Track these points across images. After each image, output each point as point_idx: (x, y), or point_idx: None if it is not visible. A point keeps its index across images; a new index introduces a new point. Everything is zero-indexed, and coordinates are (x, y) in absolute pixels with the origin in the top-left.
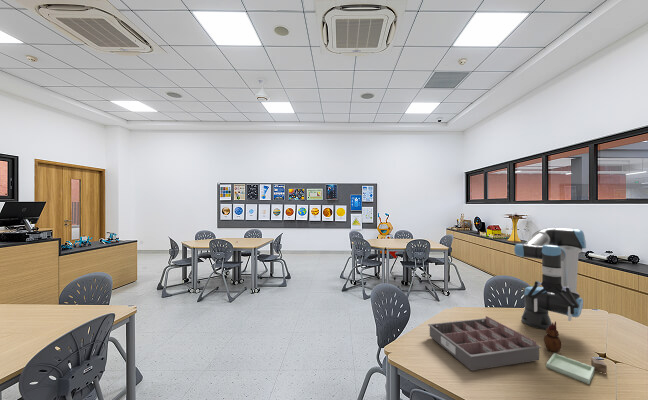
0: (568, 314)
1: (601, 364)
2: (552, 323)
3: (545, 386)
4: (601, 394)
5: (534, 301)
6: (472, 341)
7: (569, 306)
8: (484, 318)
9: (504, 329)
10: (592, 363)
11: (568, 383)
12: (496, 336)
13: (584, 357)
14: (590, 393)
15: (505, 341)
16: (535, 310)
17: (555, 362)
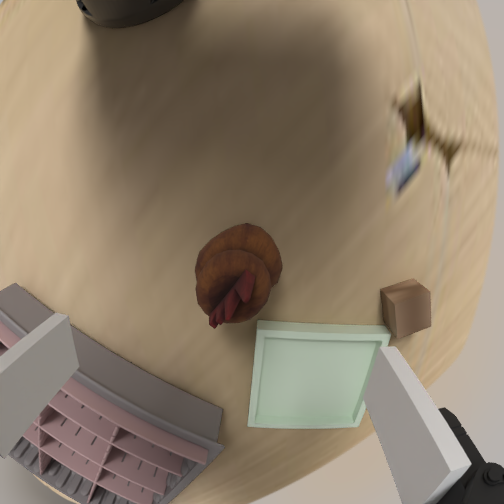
0: (384, 448)
1: (417, 331)
2: (226, 316)
3: (261, 481)
4: (372, 433)
5: (8, 436)
6: (75, 461)
7: (450, 475)
8: None
9: None
10: (390, 312)
11: (306, 446)
12: (80, 417)
13: (363, 212)
14: (349, 447)
15: (117, 440)
16: (69, 373)
17: (268, 376)
